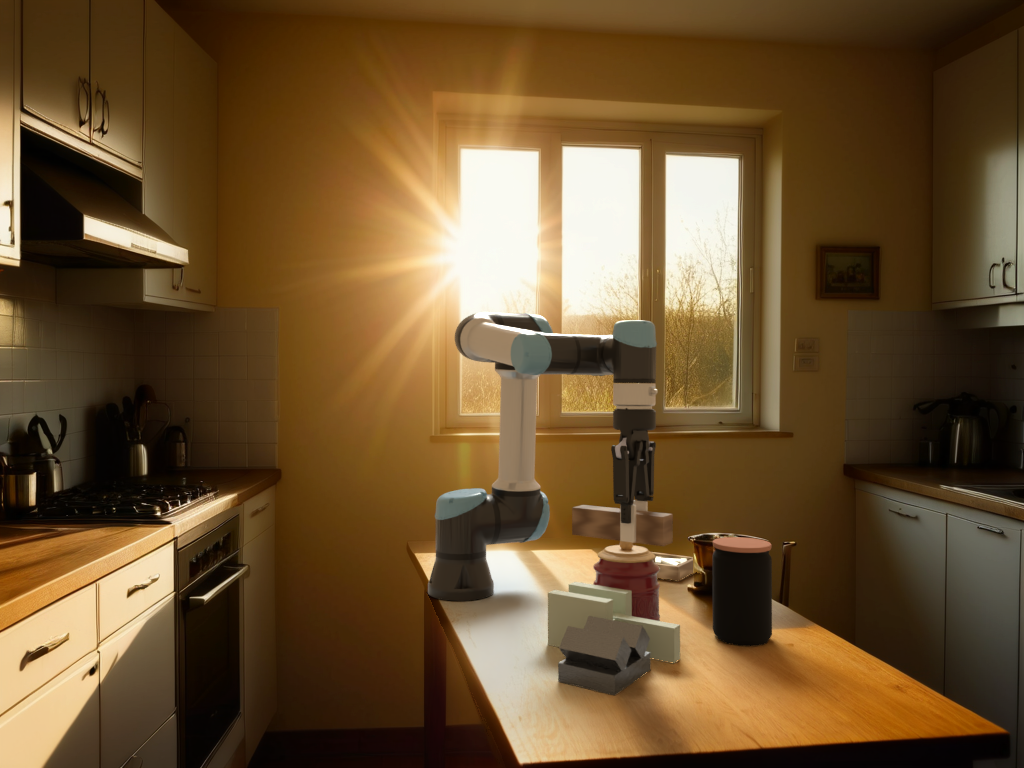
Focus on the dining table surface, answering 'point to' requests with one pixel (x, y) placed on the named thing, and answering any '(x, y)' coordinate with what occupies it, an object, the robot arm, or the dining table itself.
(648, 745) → the dining table surface
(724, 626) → the coffee jar
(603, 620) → the v block
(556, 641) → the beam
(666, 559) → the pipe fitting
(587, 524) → the bar
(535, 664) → the dining table surface
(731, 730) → the dining table surface
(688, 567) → the tray
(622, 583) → the canister
